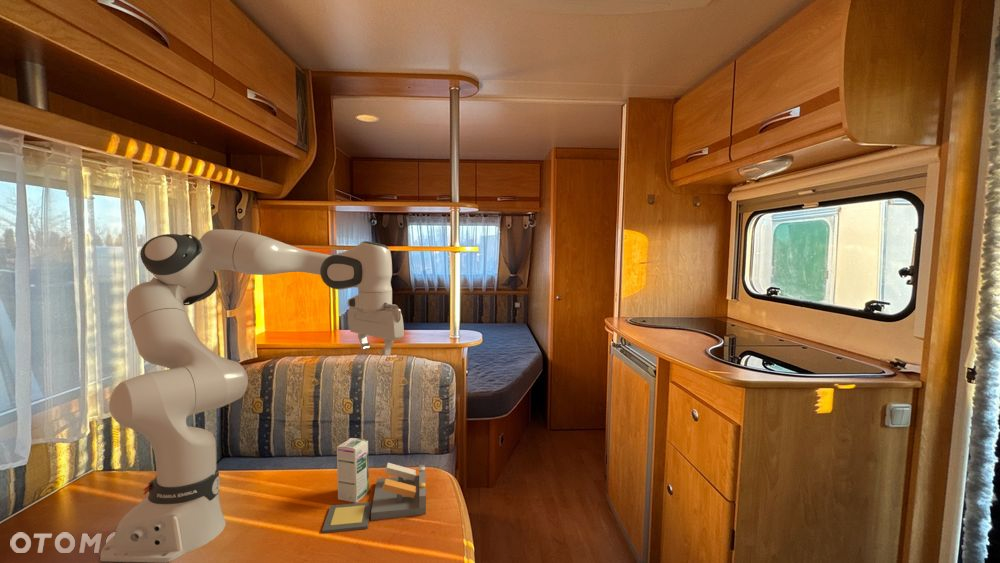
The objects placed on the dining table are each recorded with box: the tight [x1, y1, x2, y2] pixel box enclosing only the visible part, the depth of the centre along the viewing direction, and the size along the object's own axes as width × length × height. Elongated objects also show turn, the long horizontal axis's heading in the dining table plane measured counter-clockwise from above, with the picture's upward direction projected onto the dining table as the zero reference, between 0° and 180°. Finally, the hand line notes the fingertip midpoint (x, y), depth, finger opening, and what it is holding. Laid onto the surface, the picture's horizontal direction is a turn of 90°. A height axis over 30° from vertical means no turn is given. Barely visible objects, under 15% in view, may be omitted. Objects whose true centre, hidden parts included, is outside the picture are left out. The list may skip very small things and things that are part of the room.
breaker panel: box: [370, 464, 427, 522], centre depth 113 cm, size 13×16×6 cm
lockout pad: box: [321, 501, 373, 534], centre depth 105 cm, size 10×10×1 cm
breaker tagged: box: [383, 479, 416, 498], centre depth 110 cm, size 8×3×2 cm, turn 101°
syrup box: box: [336, 437, 370, 504], centre depth 114 cm, size 6×6×14 cm
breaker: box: [384, 462, 417, 481], centre depth 118 cm, size 8×3×2 cm, turn 101°
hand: (375, 352), depth 119 cm, fingers open, 8 cm apart
